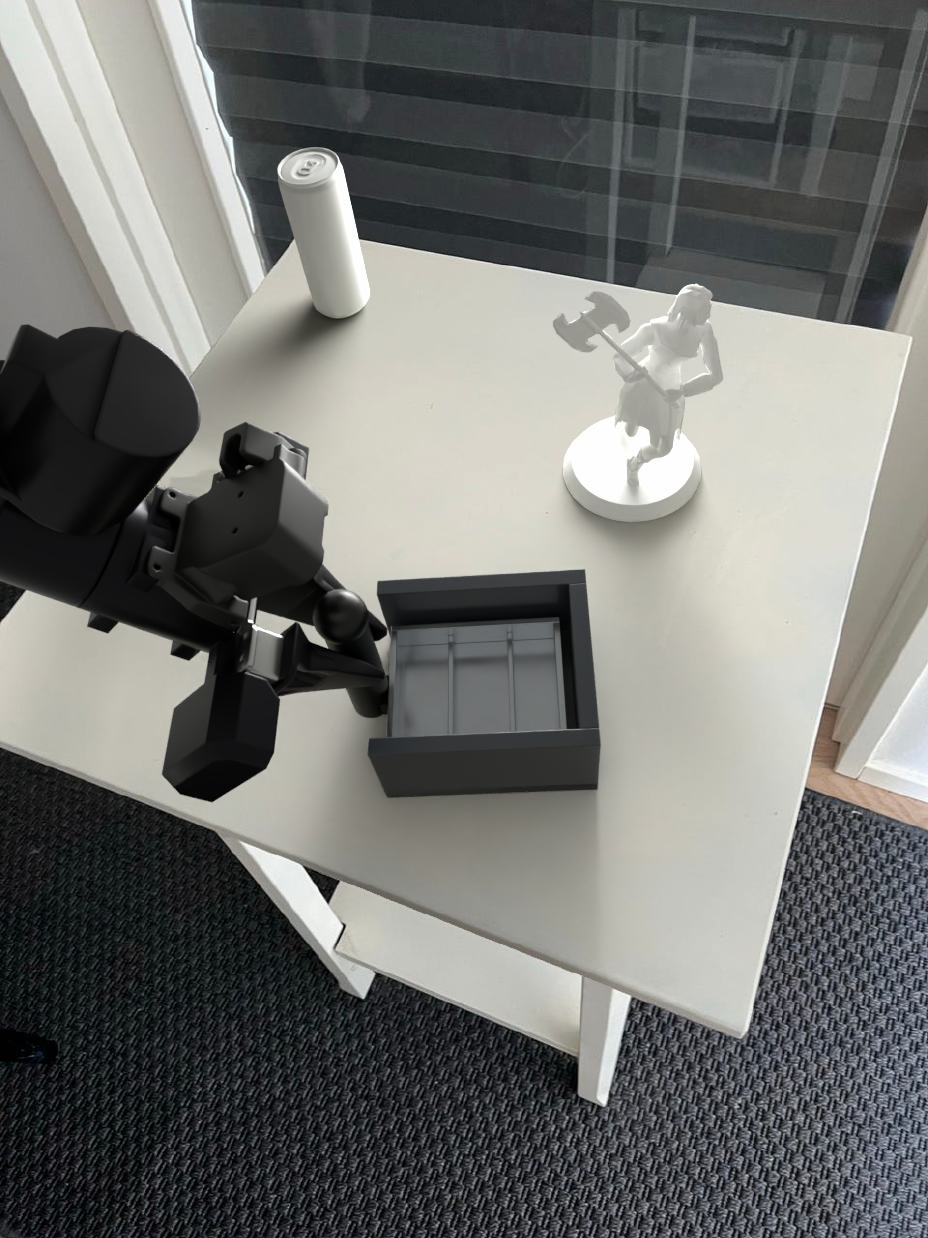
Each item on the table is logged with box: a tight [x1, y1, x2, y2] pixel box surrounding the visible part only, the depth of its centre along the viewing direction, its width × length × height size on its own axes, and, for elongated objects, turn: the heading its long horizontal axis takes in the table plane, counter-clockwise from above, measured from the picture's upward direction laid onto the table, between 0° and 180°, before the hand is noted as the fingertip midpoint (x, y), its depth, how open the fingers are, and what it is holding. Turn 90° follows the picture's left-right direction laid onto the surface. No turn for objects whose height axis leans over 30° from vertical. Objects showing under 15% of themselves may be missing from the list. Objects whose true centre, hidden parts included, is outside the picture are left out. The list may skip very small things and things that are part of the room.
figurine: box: [552, 282, 724, 523], centre depth 57 cm, size 10×10×18 cm
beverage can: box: [276, 146, 371, 319], centre depth 72 cm, size 5×5×12 cm
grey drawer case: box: [367, 568, 602, 799], centre depth 53 cm, size 12×11×6 cm
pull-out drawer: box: [313, 589, 567, 738], centre depth 50 cm, size 13×8×11 cm, turn 90°
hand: (382, 657), depth 50 cm, fingers closed on pull-out drawer, 2 cm apart
